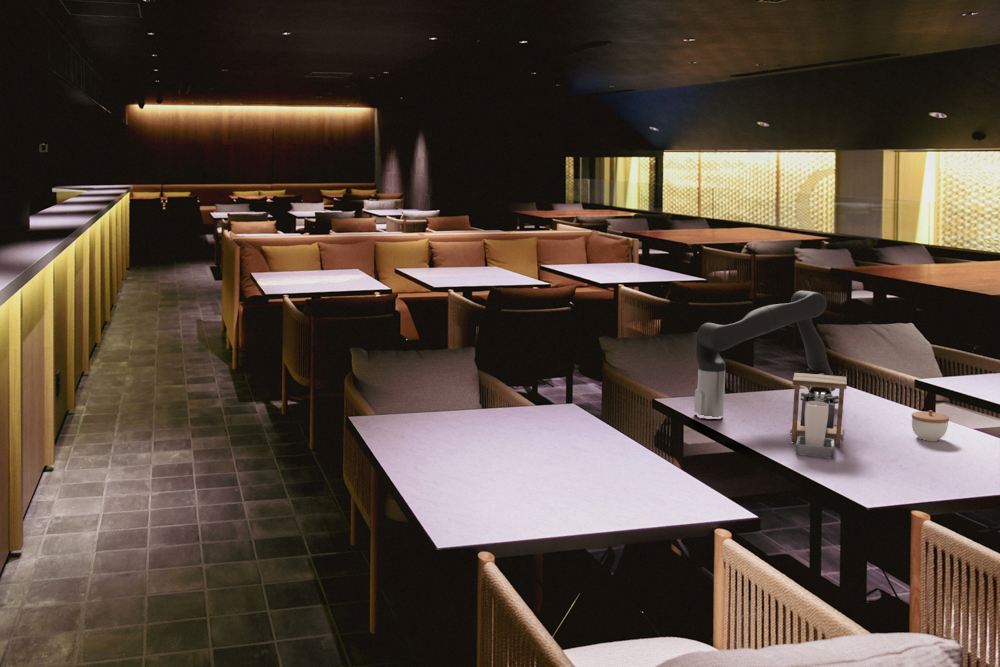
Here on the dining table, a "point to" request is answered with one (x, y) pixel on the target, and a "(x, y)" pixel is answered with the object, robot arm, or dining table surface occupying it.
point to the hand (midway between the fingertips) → (818, 403)
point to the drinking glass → (815, 422)
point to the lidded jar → (929, 425)
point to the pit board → (829, 433)
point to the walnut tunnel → (818, 381)
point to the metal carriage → (828, 443)
